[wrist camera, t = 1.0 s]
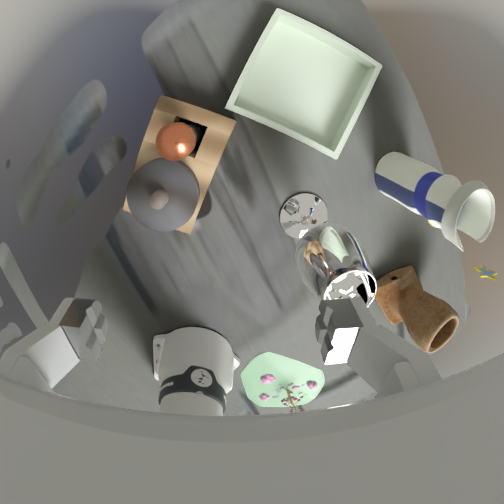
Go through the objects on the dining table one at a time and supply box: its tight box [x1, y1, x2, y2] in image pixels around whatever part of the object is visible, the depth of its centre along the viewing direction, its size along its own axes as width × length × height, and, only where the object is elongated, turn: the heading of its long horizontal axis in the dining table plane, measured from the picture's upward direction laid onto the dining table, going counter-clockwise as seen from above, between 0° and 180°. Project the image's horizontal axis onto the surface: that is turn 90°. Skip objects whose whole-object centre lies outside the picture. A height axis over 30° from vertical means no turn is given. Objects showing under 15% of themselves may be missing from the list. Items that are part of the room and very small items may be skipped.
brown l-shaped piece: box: [375, 266, 459, 353], centre depth 44 cm, size 15×12×15 cm
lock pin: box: [156, 122, 201, 161], centre depth 30 cm, size 4×4×11 cm
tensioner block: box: [123, 95, 236, 234], centre depth 33 cm, size 16×10×9 cm, turn 156°
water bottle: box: [375, 152, 497, 281], centre depth 28 cm, size 8×9×25 cm
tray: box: [225, 8, 383, 160], centre depth 31 cm, size 16×16×4 cm
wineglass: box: [280, 193, 377, 307], centre depth 33 cm, size 8×8×20 cm
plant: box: [240, 352, 325, 413], centre depth 58 cm, size 25×21×9 cm
